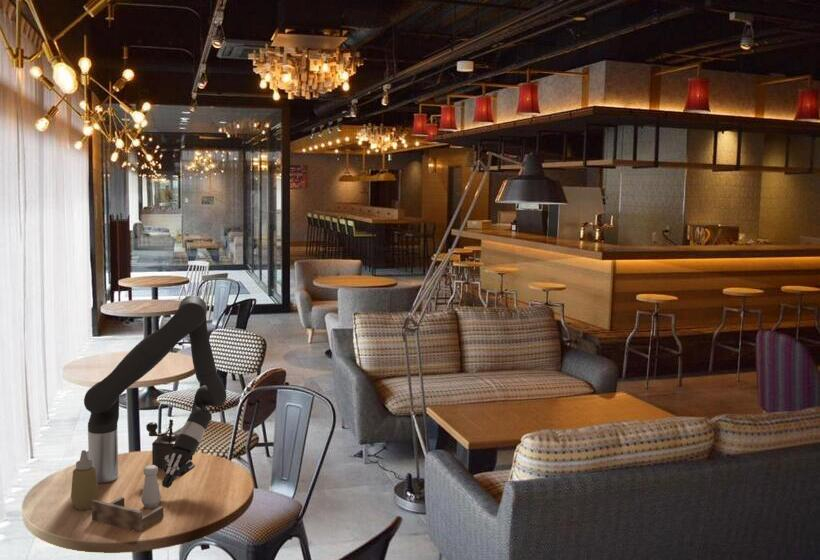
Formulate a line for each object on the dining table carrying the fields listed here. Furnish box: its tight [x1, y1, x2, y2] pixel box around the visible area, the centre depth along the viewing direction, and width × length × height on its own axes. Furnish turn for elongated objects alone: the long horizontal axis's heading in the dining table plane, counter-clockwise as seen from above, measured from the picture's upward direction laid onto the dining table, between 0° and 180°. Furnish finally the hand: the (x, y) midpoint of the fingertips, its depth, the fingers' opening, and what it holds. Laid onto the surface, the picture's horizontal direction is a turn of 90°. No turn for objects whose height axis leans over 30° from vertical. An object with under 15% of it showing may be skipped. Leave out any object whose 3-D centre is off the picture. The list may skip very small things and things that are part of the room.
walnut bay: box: [91, 496, 164, 533], centre depth 225 cm, size 18×11×6 cm, turn 68°
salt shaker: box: [141, 464, 162, 510], centre depth 233 cm, size 6×6×13 cm
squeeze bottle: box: [70, 449, 100, 511], centre depth 231 cm, size 8×8×18 cm
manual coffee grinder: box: [145, 419, 179, 470], centre depth 265 cm, size 16×11×18 cm
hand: (165, 486), depth 239 cm, fingers closed
